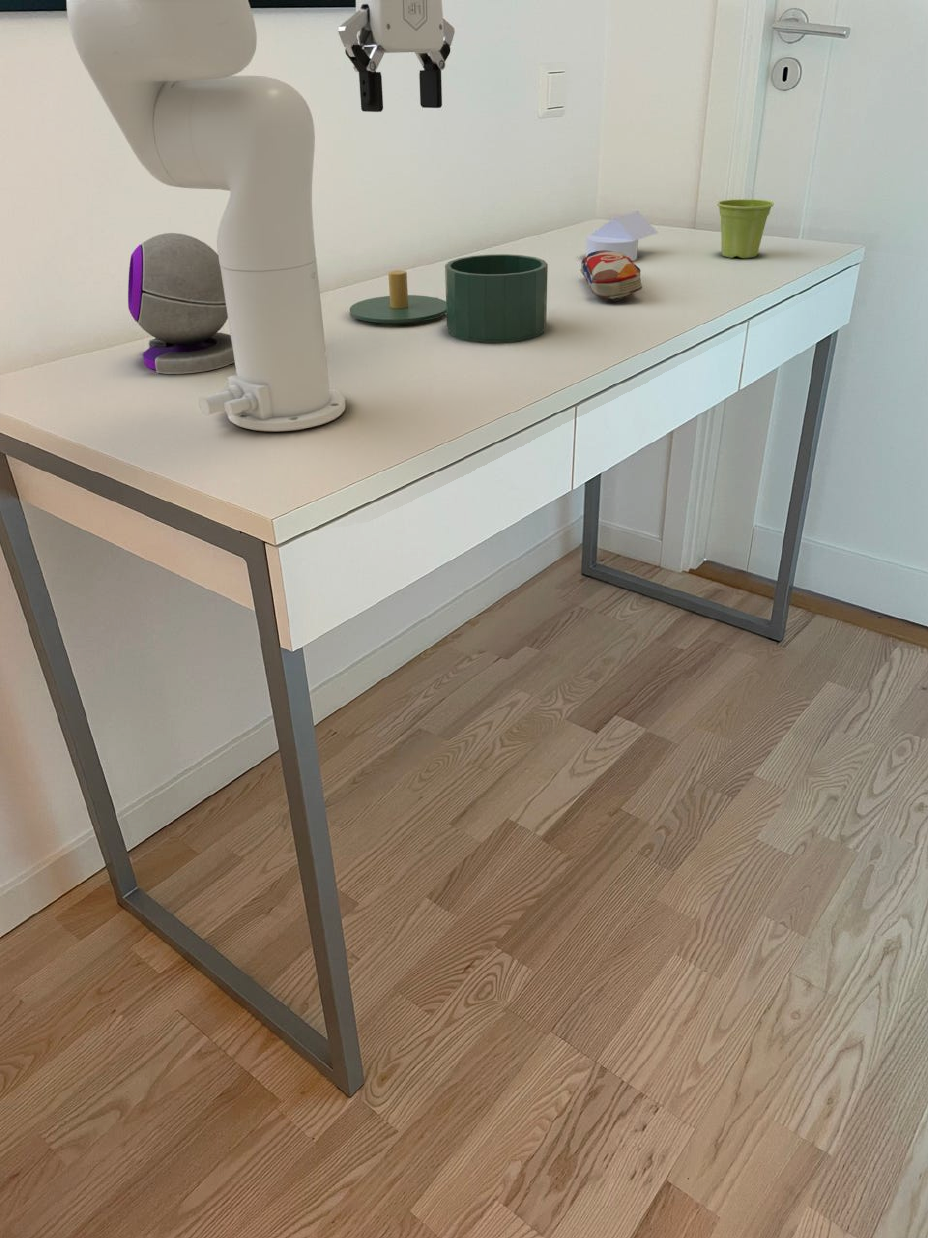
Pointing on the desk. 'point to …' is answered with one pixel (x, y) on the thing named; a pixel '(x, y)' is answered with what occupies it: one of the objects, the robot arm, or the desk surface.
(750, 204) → the plant pot
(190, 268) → the webcam
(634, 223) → the wedge on round base
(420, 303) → the tin lid
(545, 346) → the desk surface
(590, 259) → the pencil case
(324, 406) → the robot arm
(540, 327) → the tin
